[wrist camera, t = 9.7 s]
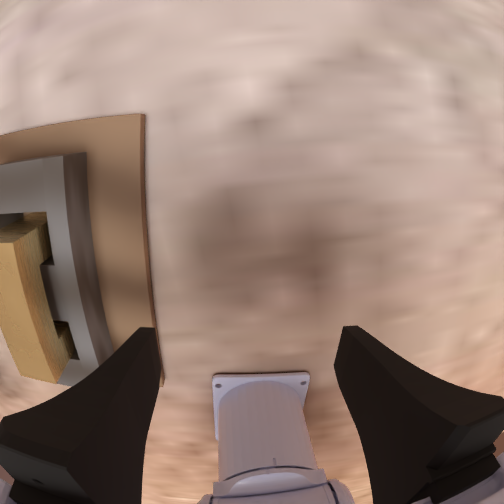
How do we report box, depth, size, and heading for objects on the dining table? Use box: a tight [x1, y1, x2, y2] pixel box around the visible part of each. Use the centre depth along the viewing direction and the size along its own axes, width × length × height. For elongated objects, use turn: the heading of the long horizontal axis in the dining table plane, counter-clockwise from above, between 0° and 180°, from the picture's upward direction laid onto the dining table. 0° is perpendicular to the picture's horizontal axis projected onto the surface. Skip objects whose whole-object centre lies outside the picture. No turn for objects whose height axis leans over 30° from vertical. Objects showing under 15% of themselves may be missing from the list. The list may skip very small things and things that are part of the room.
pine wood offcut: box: [0, 212, 76, 384], centre depth 16 cm, size 9×3×6 cm, turn 177°
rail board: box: [0, 114, 165, 387], centre depth 17 cm, size 20×14×4 cm
